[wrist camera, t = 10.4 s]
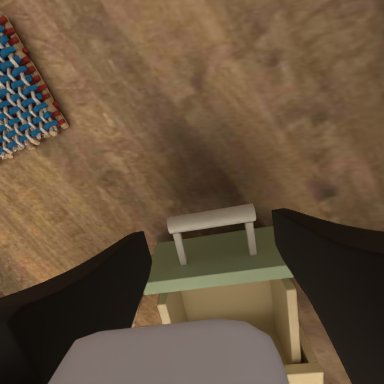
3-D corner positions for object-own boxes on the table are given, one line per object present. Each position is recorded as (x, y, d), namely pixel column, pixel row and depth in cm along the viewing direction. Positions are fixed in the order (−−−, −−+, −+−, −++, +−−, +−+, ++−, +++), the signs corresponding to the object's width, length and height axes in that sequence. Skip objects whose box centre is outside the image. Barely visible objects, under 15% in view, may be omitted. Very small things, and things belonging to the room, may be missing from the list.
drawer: (147, 205, 21) (124, 234, 15) (272, 183, 20) (303, 206, 14) (182, 334, 26) (176, 395, 20) (285, 324, 25) (311, 386, 19)
